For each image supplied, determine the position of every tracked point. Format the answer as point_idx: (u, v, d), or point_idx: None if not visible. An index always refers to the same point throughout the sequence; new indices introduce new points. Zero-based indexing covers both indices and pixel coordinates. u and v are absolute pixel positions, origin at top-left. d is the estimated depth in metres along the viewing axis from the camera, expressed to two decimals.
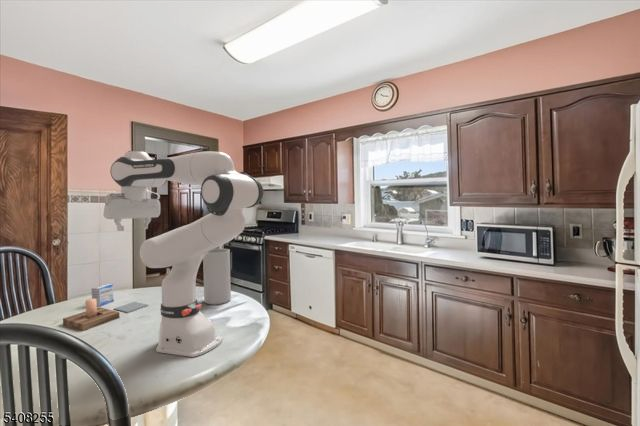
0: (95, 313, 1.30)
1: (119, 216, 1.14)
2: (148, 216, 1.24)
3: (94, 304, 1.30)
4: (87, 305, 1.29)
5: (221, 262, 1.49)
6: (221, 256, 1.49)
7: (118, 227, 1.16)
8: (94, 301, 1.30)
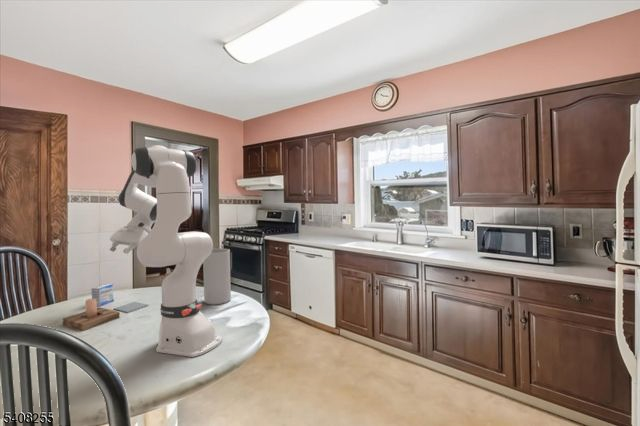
0: (95, 313, 1.30)
1: (114, 238, 1.45)
2: (130, 241, 1.40)
3: (94, 304, 1.30)
4: (87, 305, 1.29)
5: (221, 262, 1.49)
6: (221, 256, 1.49)
7: None
8: (94, 301, 1.30)
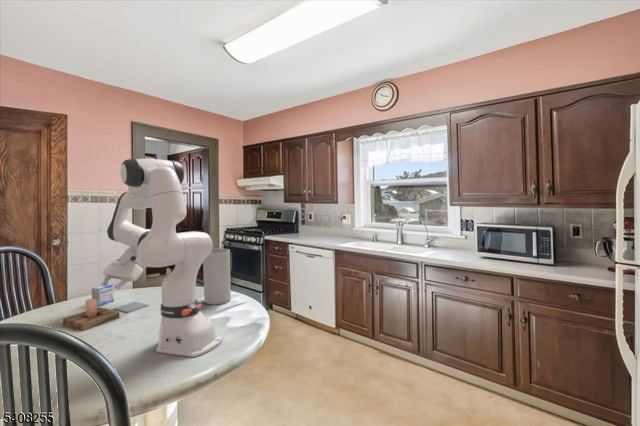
0: (95, 313, 1.30)
1: (106, 272, 1.42)
2: (122, 275, 1.37)
3: (94, 304, 1.30)
4: (87, 305, 1.29)
5: (221, 262, 1.49)
6: (221, 256, 1.49)
7: None
8: (94, 301, 1.30)
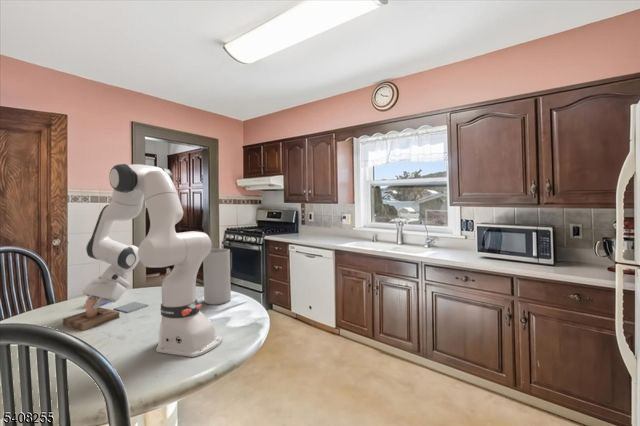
0: (95, 313, 1.30)
1: (87, 291, 1.35)
2: (102, 296, 1.30)
3: None
4: (87, 305, 1.29)
5: (221, 262, 1.49)
6: (221, 256, 1.49)
7: None
8: (94, 301, 1.30)
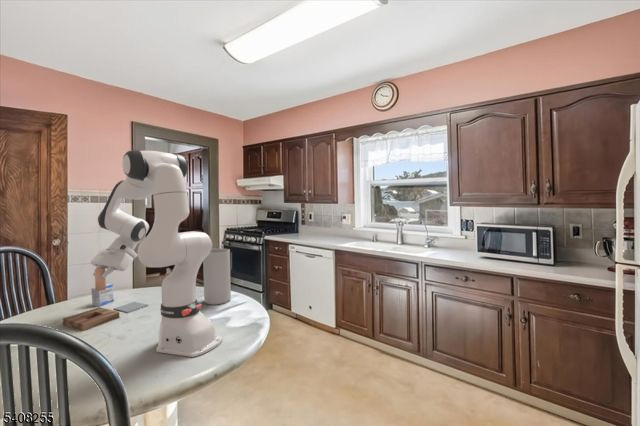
0: (104, 282, 1.33)
1: (95, 261, 1.38)
2: (111, 265, 1.33)
3: None
4: (96, 273, 1.32)
5: (221, 262, 1.49)
6: (221, 256, 1.49)
7: None
8: (103, 270, 1.33)
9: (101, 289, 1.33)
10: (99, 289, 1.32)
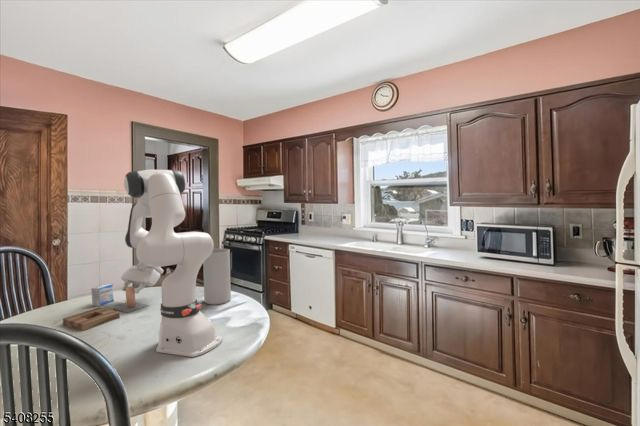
0: (134, 299, 1.46)
1: (125, 277, 1.50)
2: (140, 280, 1.45)
3: (133, 291, 1.45)
4: (127, 292, 1.44)
5: (221, 262, 1.49)
6: (221, 256, 1.49)
7: None
8: (133, 288, 1.45)
9: (132, 306, 1.45)
10: (130, 306, 1.44)
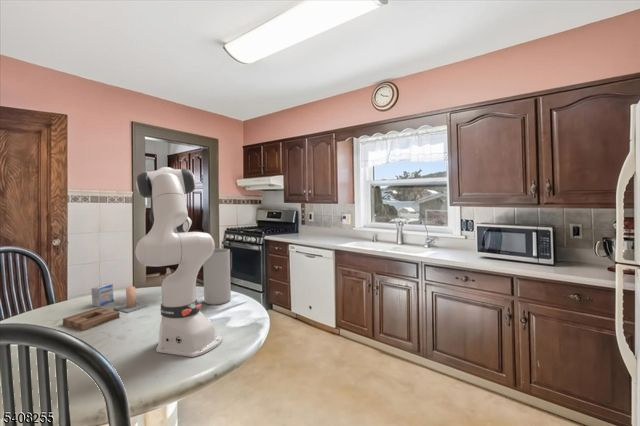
0: (134, 299, 1.46)
1: None
2: None
3: (133, 291, 1.45)
4: (127, 292, 1.44)
5: (221, 262, 1.49)
6: (221, 256, 1.49)
7: None
8: (133, 288, 1.45)
9: (132, 306, 1.45)
10: (130, 306, 1.45)
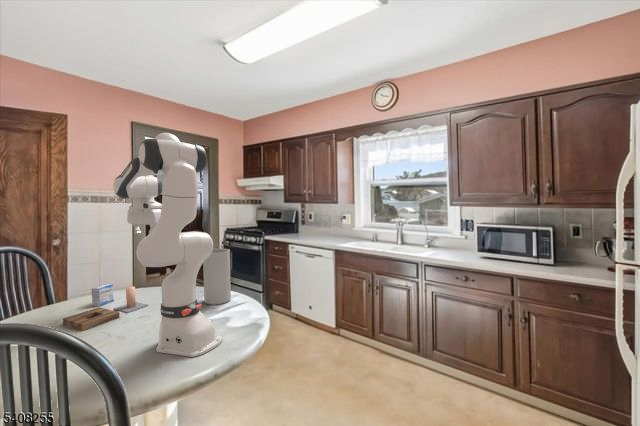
0: (134, 299, 1.46)
1: (132, 221, 1.49)
2: (148, 223, 1.44)
3: (133, 291, 1.45)
4: (127, 292, 1.44)
5: (221, 262, 1.49)
6: (221, 256, 1.49)
7: None
8: (133, 288, 1.45)
9: (132, 306, 1.45)
10: (130, 306, 1.45)
